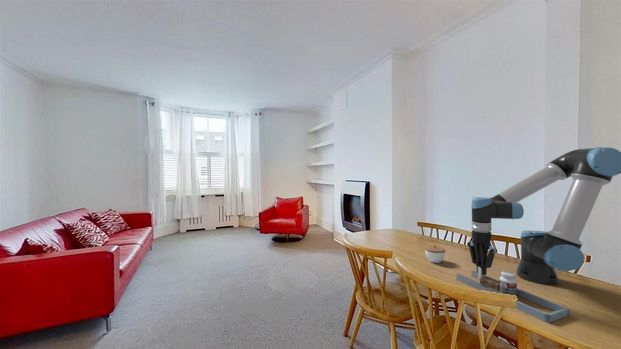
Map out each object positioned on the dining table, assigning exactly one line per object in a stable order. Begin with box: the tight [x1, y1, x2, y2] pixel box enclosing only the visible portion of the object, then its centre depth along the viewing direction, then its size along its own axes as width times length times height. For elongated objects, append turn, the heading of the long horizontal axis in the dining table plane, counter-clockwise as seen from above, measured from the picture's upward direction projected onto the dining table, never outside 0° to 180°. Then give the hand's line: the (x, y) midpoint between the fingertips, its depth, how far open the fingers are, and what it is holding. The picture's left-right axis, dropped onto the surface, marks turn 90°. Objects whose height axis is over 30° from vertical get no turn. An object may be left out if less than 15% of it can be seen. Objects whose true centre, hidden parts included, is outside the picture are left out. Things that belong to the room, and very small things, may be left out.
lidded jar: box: [424, 244, 446, 264], centre depth 147 cm, size 11×11×9 cm
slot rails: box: [455, 270, 502, 293], centre depth 115 cm, size 20×12×2 cm, turn 19°
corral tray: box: [515, 287, 570, 324], centre depth 97 cm, size 17×12×2 cm
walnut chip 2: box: [488, 279, 500, 291], centre depth 110 cm, size 4×4×4 cm
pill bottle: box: [499, 270, 518, 296], centre depth 106 cm, size 6×6×10 cm
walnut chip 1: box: [479, 275, 495, 286], centre depth 114 cm, size 4×4×4 cm
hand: (481, 280), depth 117 cm, fingers closed
